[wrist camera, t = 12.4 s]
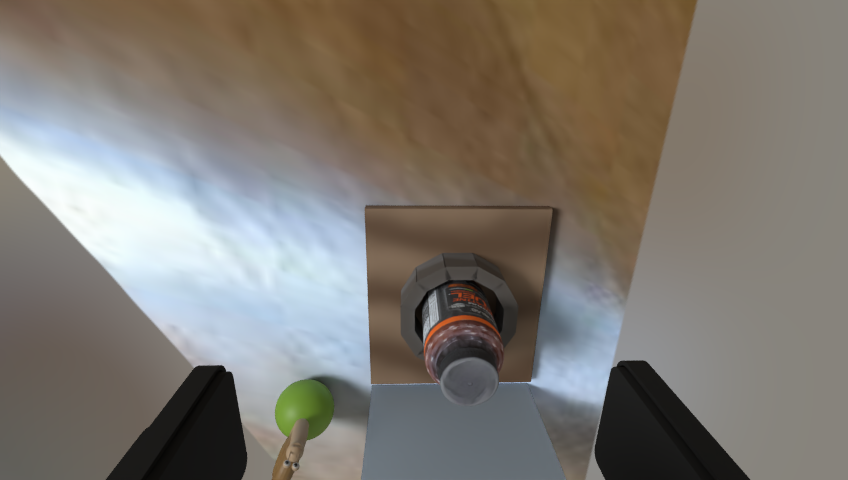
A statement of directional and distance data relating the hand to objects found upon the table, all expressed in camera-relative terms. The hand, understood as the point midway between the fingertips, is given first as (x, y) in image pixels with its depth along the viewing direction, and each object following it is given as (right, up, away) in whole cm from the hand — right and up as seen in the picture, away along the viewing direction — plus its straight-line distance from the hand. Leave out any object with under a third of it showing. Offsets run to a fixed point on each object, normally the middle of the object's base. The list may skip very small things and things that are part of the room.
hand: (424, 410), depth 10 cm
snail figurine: (-11, -11, +32) cm, 35 cm away
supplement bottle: (+3, -1, +28) cm, 28 cm away
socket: (+3, -1, +29) cm, 29 cm away
